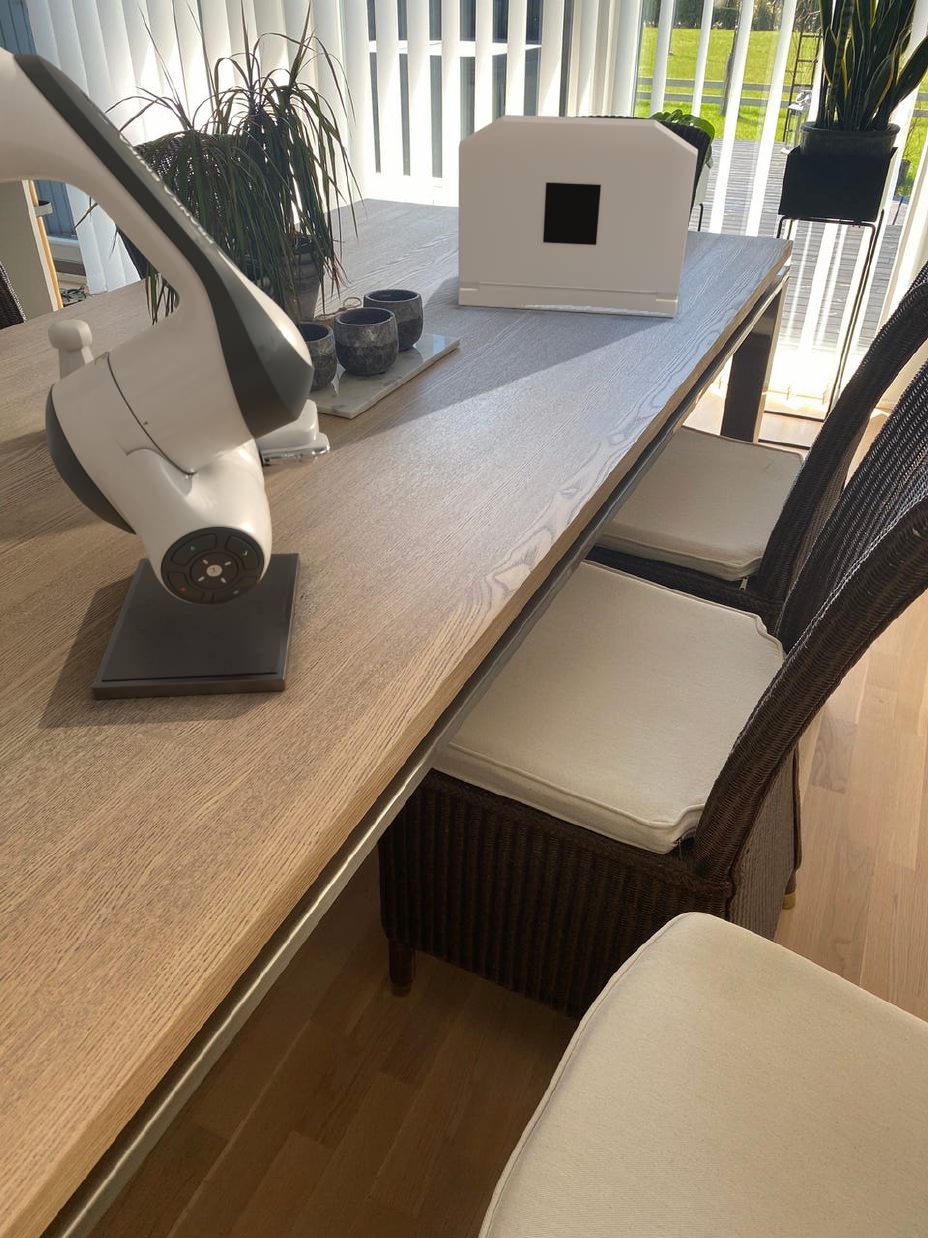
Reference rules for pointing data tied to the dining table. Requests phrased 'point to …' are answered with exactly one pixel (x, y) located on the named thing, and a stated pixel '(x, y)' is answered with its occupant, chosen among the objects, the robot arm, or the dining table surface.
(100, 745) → the dining table surface
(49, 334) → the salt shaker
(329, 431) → the dining table surface
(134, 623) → the tablet
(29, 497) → the dining table surface
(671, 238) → the white chamfered box
